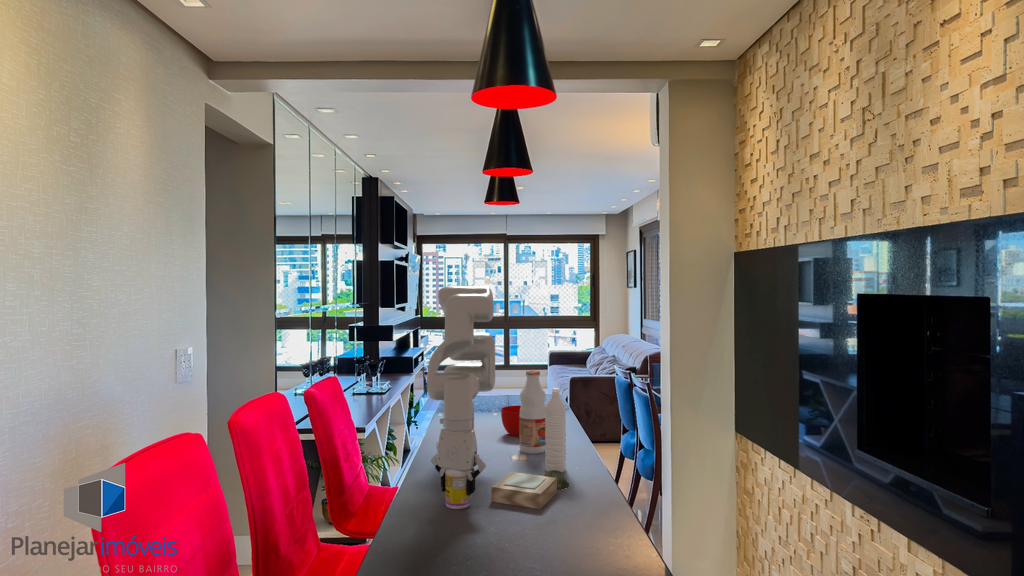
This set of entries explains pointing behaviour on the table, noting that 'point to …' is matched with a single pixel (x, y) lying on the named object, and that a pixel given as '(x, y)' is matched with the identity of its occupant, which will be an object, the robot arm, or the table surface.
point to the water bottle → (555, 433)
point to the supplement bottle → (456, 489)
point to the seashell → (558, 479)
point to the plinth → (524, 490)
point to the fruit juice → (532, 415)
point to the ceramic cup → (511, 419)
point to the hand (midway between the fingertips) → (457, 491)
